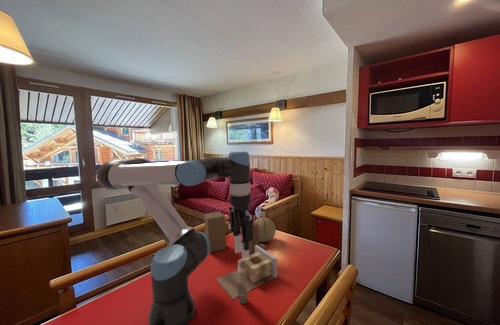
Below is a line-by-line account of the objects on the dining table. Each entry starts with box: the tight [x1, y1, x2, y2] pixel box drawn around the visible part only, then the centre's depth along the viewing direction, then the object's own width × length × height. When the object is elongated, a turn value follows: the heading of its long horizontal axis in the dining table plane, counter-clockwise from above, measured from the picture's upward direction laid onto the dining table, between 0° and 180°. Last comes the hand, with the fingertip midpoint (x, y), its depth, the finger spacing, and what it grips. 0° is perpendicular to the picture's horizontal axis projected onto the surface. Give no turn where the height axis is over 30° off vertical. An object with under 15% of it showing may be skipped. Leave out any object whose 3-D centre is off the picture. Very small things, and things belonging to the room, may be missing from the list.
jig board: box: [215, 269, 279, 300], centre depth 93 cm, size 24×15×1 cm, turn 124°
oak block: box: [245, 252, 272, 283], centre depth 95 cm, size 10×10×6 cm
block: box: [203, 211, 227, 254], centre depth 119 cm, size 10×10×20 cm
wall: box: [255, 245, 278, 279], centre depth 98 cm, size 2×15×9 cm, turn 34°
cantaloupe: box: [254, 215, 277, 243], centre depth 127 cm, size 15×15×15 cm
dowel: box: [237, 258, 248, 305], centre depth 78 cm, size 3×3×16 cm
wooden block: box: [249, 221, 268, 255], centre depth 111 cm, size 9×4×18 cm, turn 112°
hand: (241, 254), depth 78 cm, fingers open, 4 cm apart
